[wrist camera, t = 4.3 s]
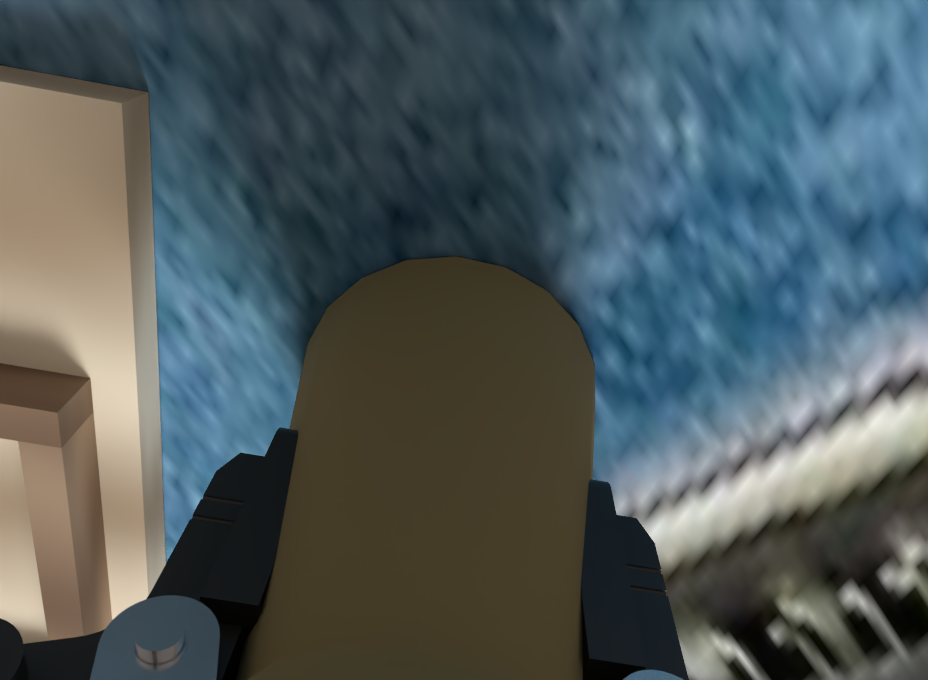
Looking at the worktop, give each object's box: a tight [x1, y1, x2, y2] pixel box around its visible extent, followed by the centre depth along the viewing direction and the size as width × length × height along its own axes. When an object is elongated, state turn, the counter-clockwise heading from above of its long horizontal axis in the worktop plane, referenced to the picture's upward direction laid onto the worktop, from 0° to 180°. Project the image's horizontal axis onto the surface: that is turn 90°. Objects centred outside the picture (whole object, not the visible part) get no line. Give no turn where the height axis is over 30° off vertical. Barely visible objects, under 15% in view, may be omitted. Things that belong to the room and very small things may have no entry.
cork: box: [236, 256, 595, 680], centre depth 10 cm, size 6×6×11 cm
